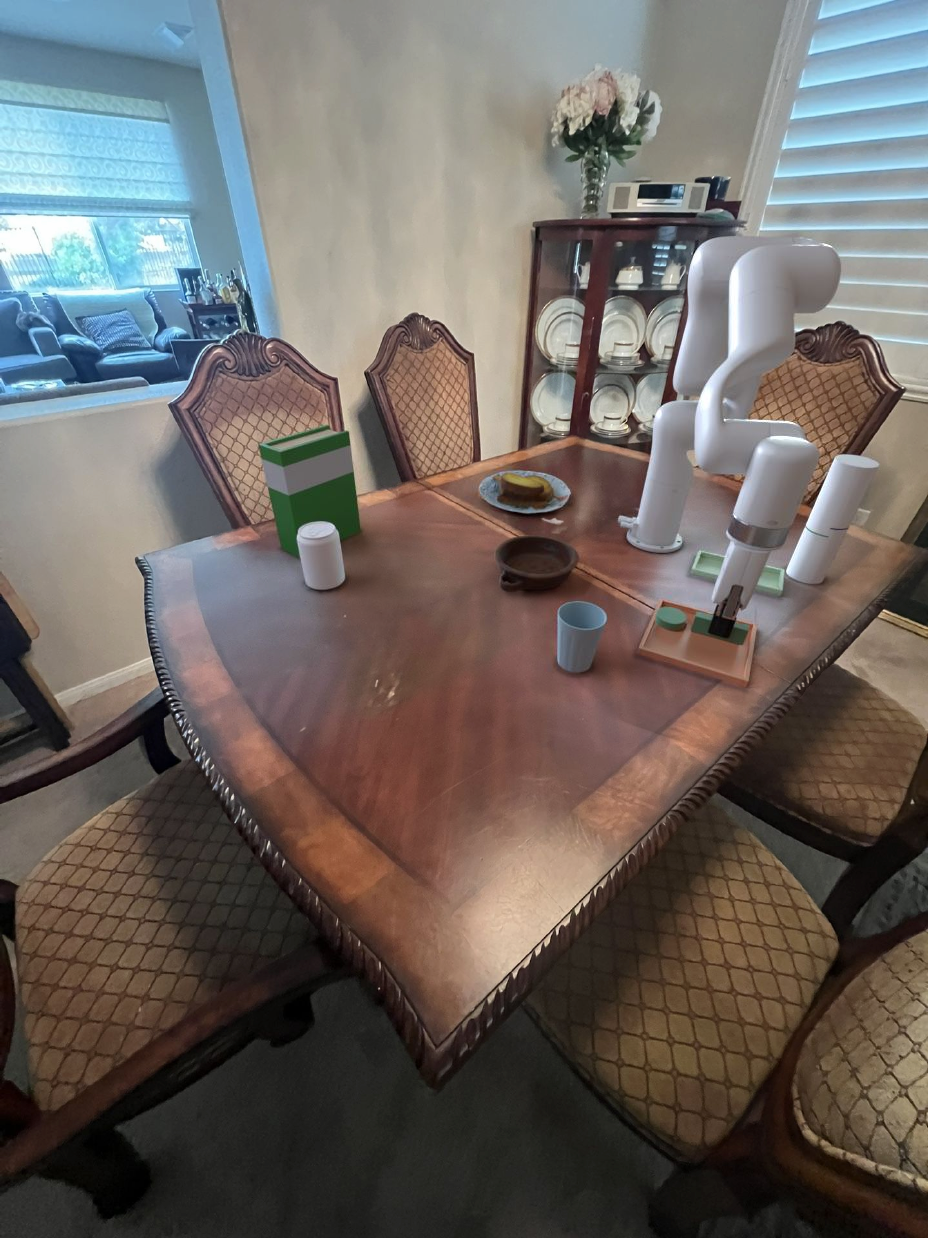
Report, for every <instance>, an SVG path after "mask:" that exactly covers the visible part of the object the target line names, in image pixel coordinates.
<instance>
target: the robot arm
mask: <svg viewBox="0 0 928 1238" xmlns="http://www.w3.org/2000/svg"><path fill="white" fill-rule="evenodd" d="M841 278H842V261H841V258H840V255H839V253H838V251H837V250H836V249H835V248H834V247H833V246H831V245H829V244H826V243H823V242H819V241H817V240H814V239H811V238H807V237H800V236H799V237H797V236H758V235H732V236H731V235H729V236H720V237H714V238H710V239H708V240H706V241H704V242H703V243H701V244H700V245H699V246H698V247H697V249H696V250H695V252H694V254H693V256H692V259H691V262H690V265H689V268H688V276H687V303H688V304H687V306H688V307H687V308H688V310H687V311H688V312H687V317H686V318H687V319H686V323H685V327H684V331H683V335H682V340H681V343H680V347H679V351H678V355H677V357H676V358H677V359H676V363H675V366H674V372H673V377H672V386H673V390H674V391H675V392H676V393H677V394H679V395H682V396H684V397H685V396H686V397H695V398H699V399H698V400H683V399H681V400H673V401H669V402H666V403H664V404H663V405H661V406H660V407H659V408H658V409H657V411H656V412H655V415H654V419H653V425H652V441H651V451H650V456H649V457H650V458H649V462H648V467H647V472H646V478H645V482H644V486H643V491H642V495H641V500H640V503H639V508H638V514H637V517H635V516H632V517H628V516H624V515H619V516H618V518H617V524H619V528H621V529H627V532H626V540H627V541H628V542H629V544H631V545H632V546H634V547H635V548H637V549H640V550H642V551H644V552H649V553H654V554H655V553H658V554H667V553H672V552H675V551H679V549H680V548H681V547H682V544H683V538H682V536H681V535H680V534H679V529H680V525H681V521H682V519H683V514H684V510H685V507H686V504H687V499H688V496H689V492H690V489H691V486H692V481H693V477H694V472H695V470H694V465H693V462H692V461H691V459H690V457H689V455H688V453H687V452H688V451H689V452H690V451H694V457H695V463H696V464H697V466H698V467H699V469H700V470H701V471H703V472H705V473H706V474H711V475H726V476H727V475H728V476H729V475H730V476H745V477H744V479H743V483H742V485H741V488H740V491H739V494H738V497H737V500H736V502H735V506H734V508H733V512H732V515H731V518H730V521H729V523H728V526H727V529H726V532H725V533H726V537H727V539H729V541H730V542H729V544H728V547H727V549H726V553H725V555H724V556H725V558H724V561H723V563H722V566H721V569H720V572H719V575H718V578H717V581H715V583H714V587H713V591H712V595H711V599H710V600H711V603H713V604H716V606H715V609H714V611H713V612H714V614H713V618H712V621H711V624H710V627H709V629H708V633H709V634H712V635H716V636H719V637H723V638H726V639H727V638H729V637H730V634H731V632H732V629H733V626H734V624H735V621H736V619H738V618H737V616H738V614H739V611H744V610H746V609H747V607H748V605H749V603H750V601H751V599H752V597H753V595H754V592H755V588H756V586H757V583H758V581H759V579H760V577H761V574H762V572H763V569H764V567H765V565H767V562H768V559H769V557H770V555H771V552H774V551H777V550H780V549H782V548H783V547H784V545H785V542H786V540H787V537H788V536H789V532H790V531H791V528H792V526H793V523H794V522H795V518H796V516H797V513H798V512H799V509H800V507H801V504H802V502H803V500H804V497H805V495H806V493H807V490H808V488H809V486H810V483H811V480H812V478H813V476H814V474H815V472H816V469H817V466H818V463H819V461H820V455H821V453H820V450H819V448H818V447H817V446H816V444H814V443H812V442H811V441H808V439H807V437H806V433H805V431H804V429H803V428H802V426H801V425H799V424H797V423H795V422H792V421H788V420H787V421H786V420H785V421H784V420H764V419H749V417H750V414H751V412H752V409H753V406H754V403H755V401H756V398H757V395H758V393H759V389H760V386H761V384H762V381H763V377H764V374H766V373H768V372H770V371H773V370H774V369H776V368H778V367H780V366H782V365H783V364H784V363H786V361H787V360H789V358H790V357H791V356H792V355H793V353H794V351H795V347H796V314H816V313H819V312H821V311H822V310H824V309H825V308H826V307H827V306H828V305H829V304H830V303H831V301H832V300H833V299H834V297H835V296H836V293H837V291H838V288H839V286H840V283H841Z"/></svg>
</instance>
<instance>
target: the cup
mask: <svg viewBox="0 0 928 1238" xmlns="http://www.w3.org/2000/svg"><path fill="white" fill-rule="evenodd" d="M607 616H608V615H607V613H606V611H605V610H604V609H603V608H601V607H600V606H598V605H597V604H594V603H591V602H587V601H580V600H579V601H578V600H576V601H569V602H566V603H564V604H562V605H561V606H560V607H559V608H558V610H557V650H556V651H557V653H556V655H557V660H556V661H557V663H558V665H559V667H561V668H562V669H563V670H565V671H568V672H569V673H576V674H577V673H578V674H579V673H584V672H586V671H588V670H589V669H590V668H591V667H592V663H593V661H594V657H595V655H596V653H597V649H598V646H599V643H600V640H601V638H602V635H603V632H604V630H605V627H606V624H607V621H608V617H607Z"/></svg>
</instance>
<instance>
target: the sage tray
mask: <svg viewBox="0 0 928 1238" xmlns="http://www.w3.org/2000/svg"><path fill="white" fill-rule="evenodd" d="M724 558H725V555H722V554H718V553H713V552H709V551H705V550H700V549H698V550H697V554H696V556H695V559H694V562H693V564H692V566H691V569H690V572H689V575H690V576H694V577H699V578H703V579H706V580H711V581H713V582H714V581H715V582H716V581H717V578H718V575H719V572H720V569H721V566H722V563H723V561H724ZM785 572H786V570H785V569H784V568H781V567H775V566H771V565H768V564H765V567H764V569H763V572H762V574H761V577H760V579H759V581H758V583H757V586H756V588H755V590H754V592H760V593H763V594H768V595H772V596H777V597H781V596H782V594H783V592H784V591H783V590H784V581H785Z"/></svg>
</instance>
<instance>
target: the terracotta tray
mask: <svg viewBox="0 0 928 1238" xmlns="http://www.w3.org/2000/svg"><path fill="white" fill-rule="evenodd" d="M662 607H673V608H676V609H679V610H680V611H682V612H683V613H684V614H685V615H686V617H687V619H688V623H687V626H686V628H685V629H684V630H683V631H679V632H674V631H669V630H667V629H664V628H662V627H660V626H659V625H658V624H657V623H656V621H655V616H656V613H657V610H658V609H660V608H662ZM697 611H698V612H702V613H706V614H709V615H713V614H714V611H710V610H706V609H702V608H698V607H695V606H690V605H687V604H683V603H679V602H676V601H672V600H669V599H664V598H661V597H660V598H659V600H658V602H657V604H656V607H655V609H654V610H653V613H652V616H651V618H650V620H649V623H648V625H647V626H646V628H645V629H646V630H645V632H644V634H643V635H642V636H643V637H642V639H641V641H640V643H639V646H638V649H637V652H636V654H638V655H641V656H644V657H647V658H650V659H654V660H657V661H660V662H663V663H667V664H670V665H673V666H676V667H680V668H683V669H686V670H689V671H693V672H695V673H699V674H702V675H706V676H707V677H710V678H711V677H712V678H715V679H718V680H721V681H725V682H728V683H731V684H733V685H737V686H741V687H744V688H747V687H748V685H749V681H750V676H751V671H752V670H751V669H752V663H753V657H754V651H755V643H756V638H757V637H756V636H757V631H758V623H754V622H751V621H747V620H744V619H739V618H737V619H736V621H735V622H738V623H742V624H745V625H749V626H750V627H749V632H748V634H747V636H746V639H745V641H744V643H743V645H737V644H733V643H730V642H726V641H723V640H719V639H716V638H712V637H709V636H705V635H702V634H698V633H695V632H692V631H691V627H692V624H693V621H694V618H695V615H696V612H697Z"/></svg>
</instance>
